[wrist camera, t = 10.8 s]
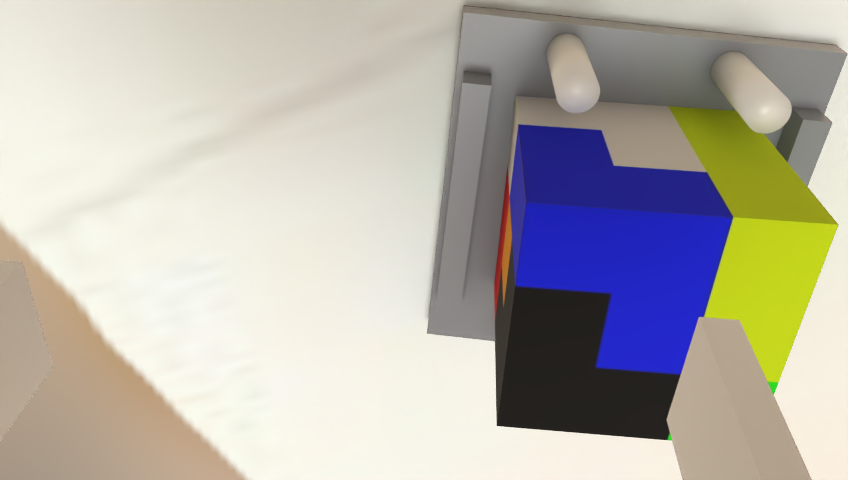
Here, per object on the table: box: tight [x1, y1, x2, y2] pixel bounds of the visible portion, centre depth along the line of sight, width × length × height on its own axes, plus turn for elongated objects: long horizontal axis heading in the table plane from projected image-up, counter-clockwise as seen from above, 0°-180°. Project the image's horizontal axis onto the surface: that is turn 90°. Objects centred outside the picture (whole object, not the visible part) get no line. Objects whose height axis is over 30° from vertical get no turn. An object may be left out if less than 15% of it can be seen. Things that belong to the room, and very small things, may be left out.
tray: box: [427, 6, 848, 341], centre depth 34 cm, size 17×16×6 cm
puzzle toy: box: [494, 96, 838, 440], centre depth 31 cm, size 10×10×10 cm
